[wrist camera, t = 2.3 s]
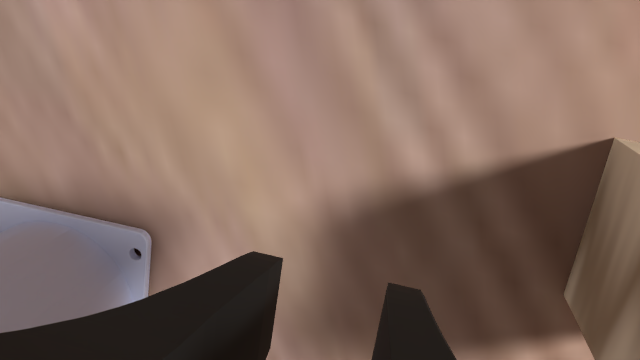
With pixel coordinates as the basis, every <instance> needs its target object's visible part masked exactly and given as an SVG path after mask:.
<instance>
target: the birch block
mask: <svg viewBox="0 0 640 360" xmlns="http://www.w3.org/2000/svg"><path fill="white" fill-rule="evenodd" d="M563 295H564V297H565V299H566V301H567V303H568V305H569V307H570V309H571V311H572V313H573V315H574V317H575V319H576V322H577V324H578V326H579V328H580V330H581V332H582V334H583V336H584V338H585V340H586V342H587V344H588V346H589V348H590V350H591V353H592V355H593V357H594V359H595V360H640V142H635V141H630V140H624V139H619V138H614V141H613V144H612V147H611V150H610V153H609V156H608V159H607V162H606V165H605V168H604V171H603V174H602V178H601V181H600V184H599V187H598V190H597V193H596V196H595V199H594V202H593V205H592V208H591V211H590V214H589V218H588V221H587V224H586V227H585V230H584V233H583V236H582V239H581V242H580V245H579V248H578V251H577V254H576V258H575V261H574V264H573V267H572V270H571V273H570V276H569V279H568V282H567V285H566V288H565V291H564V294H563Z"/></svg>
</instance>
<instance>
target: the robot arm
mask: <svg viewBox="0 0 640 360" xmlns="http://www.w3.org/2000/svg"><path fill="white" fill-rule="evenodd" d="M151 243H152V242H151V237H150V235H149V234H148V233H147V232H146V231H145V230H143V229H140V228H135V227H131V226H126V225H122V224H117V223H113V222H108V221H104V220H100V219H95V218H91V217H86V216H82V215H77V214H73V213H68V212H64V211H59V210H55V209H50V208H46V207H41V206H37V205H33V204H28V203H24V202H19V201H15V200H10V199H6V198H1V197H0V360H266V357H267V355H268V352H269V349H270V346H271V339H272V332H273V325H274V318H275V311H276V304H277V297H278V290H279V283H280V276H281V269H282V262H283V258H280V257H275V256H271V255H267V254H262V253H258V252H254V251H253V252H250V253H247V254H245V255H243V256H240V257H238V258H236V259H234V260H232V261H230V262H228V263H226V264H223V265H221V266H219V267H217V268H215V269H213V270H211V271H208V272H206V273H204V274H202V275H200V276H197V277H195V278H193V279H191V280H189V281H186V282H184V283H182V284H179V285H177V286H174V287H171V288H169V289H166V290H164V291H161V292H159V293H156V294H154V295H151V296H149V297H148V290H149V275H150V259H151ZM134 248H136V249H138V250H139V251H140V252H141V256H138V255H137V254H136V253H135V251H134ZM372 360H456V358H455V356H454V354H453V353H452V351H451V349H450V347H449V346H448V344H447V342H446V340H445V339H444V337H443V335H442V333H441V331H440V329H439V327H438V325H437V323H436V321H435V319H434V317H433V315H432V313H431V311H430V308H429V306H428V304H427V301H426V299H425V296H424V295H423V293H422V292H421V290H418V289H414V288H410V287H405V286H401V285H397V284H392V283H388V286H387V290H386V295H385V300H384V304H383V309H382V314H381V319H380V323H379V328H378V333H377V337H376V342H375V347H374V351H373V356H372Z"/></svg>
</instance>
